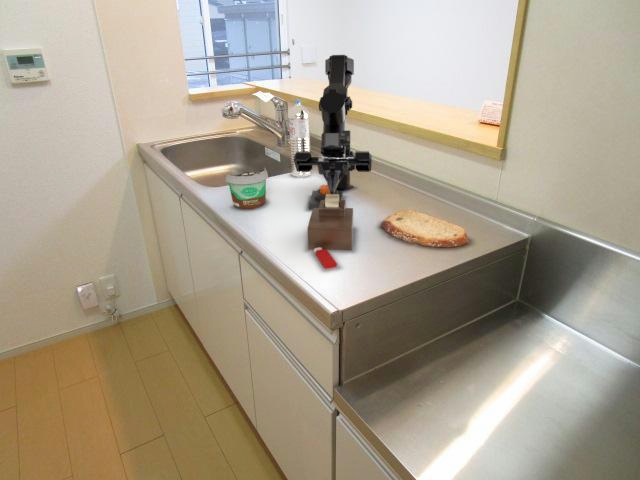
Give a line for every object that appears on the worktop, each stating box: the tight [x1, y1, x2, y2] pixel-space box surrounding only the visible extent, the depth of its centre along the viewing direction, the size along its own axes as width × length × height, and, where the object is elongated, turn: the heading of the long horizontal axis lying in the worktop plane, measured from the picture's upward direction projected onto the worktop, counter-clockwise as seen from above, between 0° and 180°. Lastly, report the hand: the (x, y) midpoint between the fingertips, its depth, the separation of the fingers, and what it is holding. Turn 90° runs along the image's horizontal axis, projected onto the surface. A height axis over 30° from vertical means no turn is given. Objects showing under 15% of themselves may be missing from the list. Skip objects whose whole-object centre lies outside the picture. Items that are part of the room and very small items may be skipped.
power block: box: [308, 188, 344, 211], centre depth 130 cm, size 11×9×4 cm
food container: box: [225, 167, 269, 211], centre depth 127 cm, size 12×6×10 cm, turn 118°
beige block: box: [325, 194, 339, 207], centre depth 108 cm, size 3×3×2 cm
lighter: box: [313, 247, 338, 269], centre depth 99 cm, size 3×1×8 cm
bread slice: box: [380, 209, 469, 248], centre depth 110 cm, size 18×18×4 cm
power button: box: [319, 184, 330, 194], centre depth 129 cm, size 4×4×2 cm
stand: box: [307, 199, 354, 251], centre depth 107 cm, size 13×10×8 cm
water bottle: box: [287, 98, 312, 178], centre depth 150 cm, size 7×7×25 cm
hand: (331, 193), depth 108 cm, fingers closed
